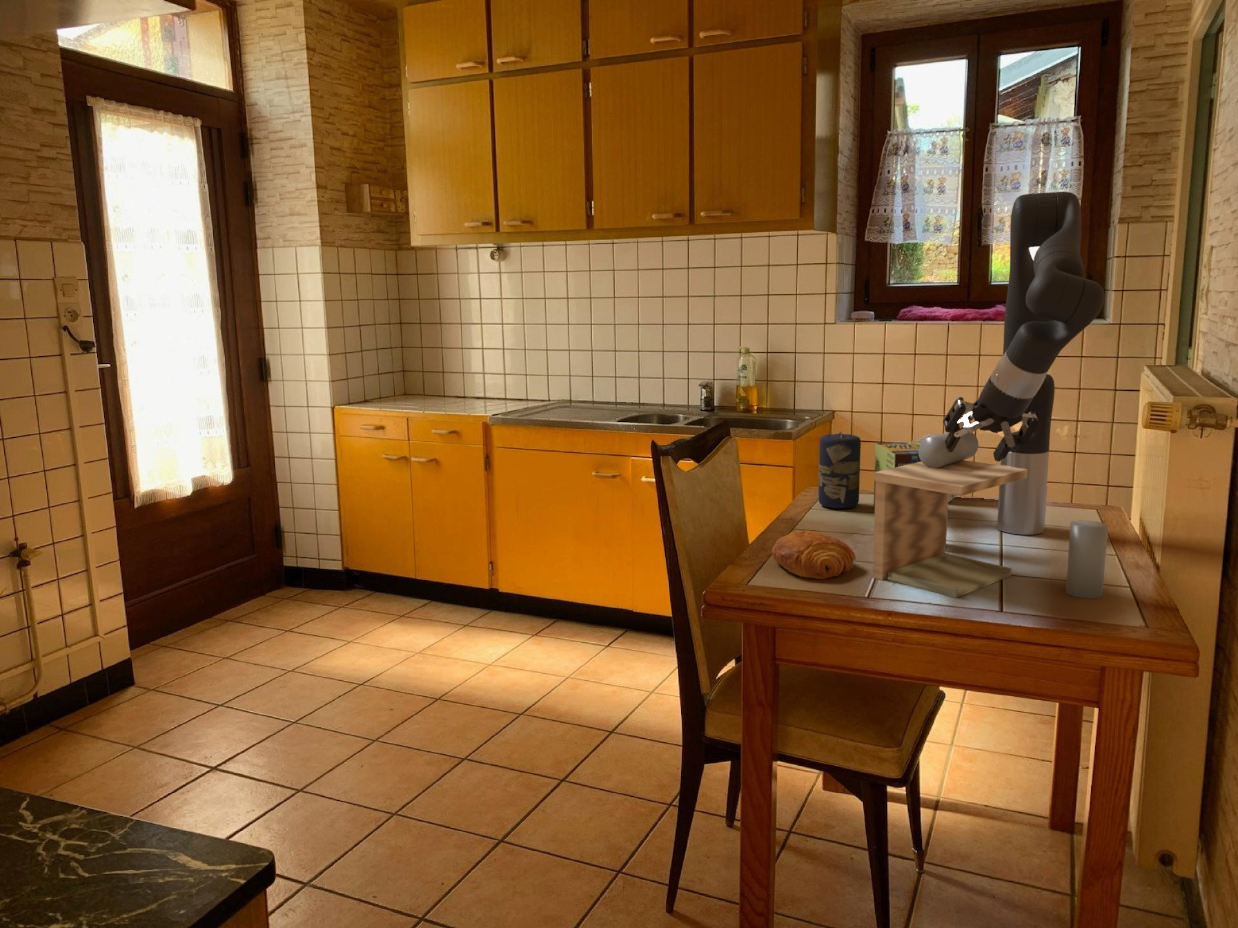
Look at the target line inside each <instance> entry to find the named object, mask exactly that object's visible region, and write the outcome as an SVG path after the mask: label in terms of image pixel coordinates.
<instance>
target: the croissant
mask: <svg viewBox="0 0 1238 928" xmlns="http://www.w3.org/2000/svg"><path fill="white" fill-rule="evenodd" d="M771 554H772V558H773V559H774V560H775V562H776V563H777V564H778V565H780V566H781V567H782V568H784V570H786V571H788V572H789V573H791V574H793V575H796V576H799V577H801V578H807V579H816V580H825V579H828V578H832V577H838V576H839V575H840V574H846V573H849V572H850V570H852V568H853V563H854V561H855V560H857V559H856V554H855V552H854V551H853V549H852V548H851V547H850V546H849V545H848V544H847V543H845V542H844V541H842V540H840V539H838V538H836V537H834V536H830V535H827V534H824V533H821V532H819V531H818V532H817V531H814V530H809V529H807V530H801V531H799V530H798V531H792V532H790V533H788V534H787V535H786V534H785V536H783V535H782V536H781V537H780V538H778V539H776V542H775V544H774V545H773V546H772V550H771Z"/></svg>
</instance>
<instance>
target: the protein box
mask: <svg viewBox="0 0 1238 928" xmlns="http://www.w3.org/2000/svg"><path fill="white" fill-rule="evenodd" d="M920 444H921V443H919V442H911V441H910V442H909V441H907V442H875V449H874V450H875V451H874V452H875V453H874V472H878V471H882V470H887V469H891V468H895V467H900V466H904V465H909V464H913V463H917V460H918V459H917V453H918V450H919V446H920ZM873 482H874V483H873V487H874V488H873V507H874V508H875V489H876V481H874V480H873Z"/></svg>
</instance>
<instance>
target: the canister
mask: <svg viewBox="0 0 1238 928" xmlns="http://www.w3.org/2000/svg"><path fill="white" fill-rule="evenodd" d="M861 441H862V440H861V438H860V437H859V436H858V435H854V434H849V433H848V434H846V433H843V432H842V431H839V433H831V434H825V435H822V436H821V437H820V440H819V452H818V453H819V454H818V455H819V458H818V459H819V460H818V491H817V492H818V495H817V496H818V503H819V504H820V505H821V506H824V507H825V508H826V507H827V508H833V509H849V508H854V507H857V505H858V504H859V502H860V483H861V481H860V478H861V453H862V452H861V450H862V449H861V447H862V446H861V445H862V442H861Z"/></svg>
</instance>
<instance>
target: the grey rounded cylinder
mask: <svg viewBox="0 0 1238 928" xmlns="http://www.w3.org/2000/svg"><path fill="white" fill-rule="evenodd" d="M1069 525H1070V526H1069V541H1068V556H1067V569H1066V570H1067V571H1066V581H1065V583H1066V584H1065V593H1066V594H1067V595H1070V596H1072V597H1075V598H1076V597H1077V598H1080V599H1099V598H1100V599H1101V598H1102V597H1103V596H1104V595H1103V594H1104V592H1103V591H1104V582H1105V581H1104V580H1105V566H1106V555H1107V542H1108V528H1109V525H1108V524H1106V523H1104V522H1100V521H1095V520H1088V519H1087V520H1082V519H1081V520H1079V519H1078V520H1073V521H1071V522H1070V524H1069Z"/></svg>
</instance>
